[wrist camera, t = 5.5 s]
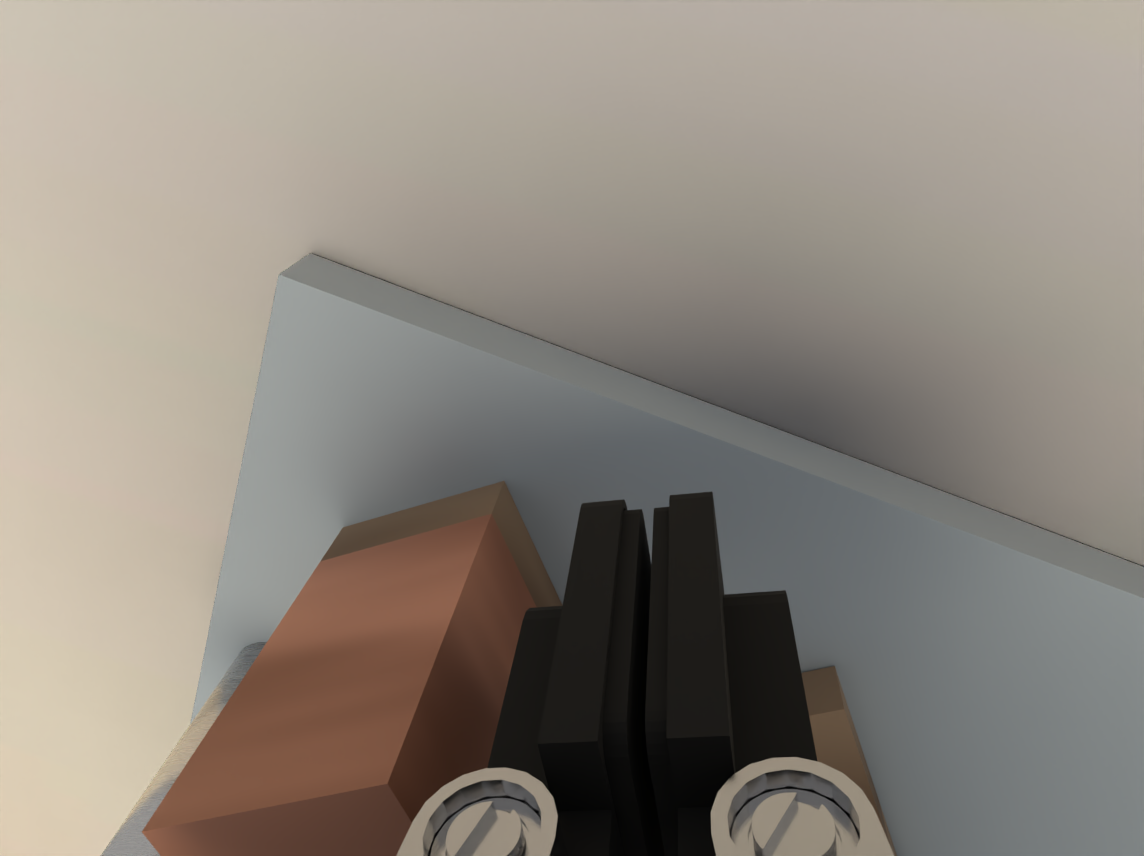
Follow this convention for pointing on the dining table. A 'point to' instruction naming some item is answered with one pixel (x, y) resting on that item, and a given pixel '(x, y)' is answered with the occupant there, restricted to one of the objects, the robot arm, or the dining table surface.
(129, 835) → the dowel pin
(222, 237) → the dining table surface
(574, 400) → the board
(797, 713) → the robot arm
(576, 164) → the dining table surface
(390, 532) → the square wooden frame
